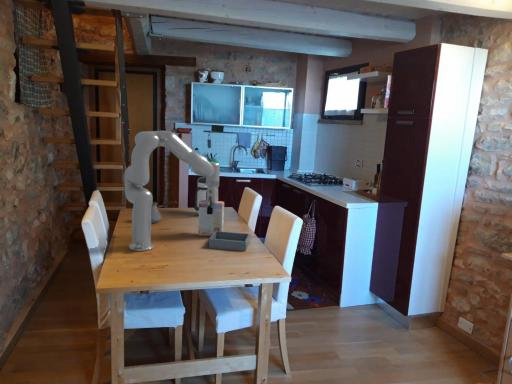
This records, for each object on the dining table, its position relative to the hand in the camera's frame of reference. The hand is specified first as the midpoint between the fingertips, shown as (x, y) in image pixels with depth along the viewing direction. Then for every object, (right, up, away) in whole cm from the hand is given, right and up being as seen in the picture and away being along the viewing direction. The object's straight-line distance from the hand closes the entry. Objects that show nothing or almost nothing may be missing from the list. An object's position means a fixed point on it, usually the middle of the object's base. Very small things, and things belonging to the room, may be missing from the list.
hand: (211, 212), depth 234 cm
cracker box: (-1, -14, +3) cm, 15 cm away
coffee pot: (-36, -8, +25) cm, 45 cm away
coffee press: (-11, -5, +49) cm, 51 cm away
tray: (+11, -18, -13) cm, 24 cm away
